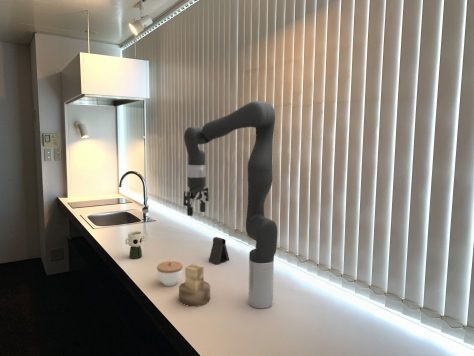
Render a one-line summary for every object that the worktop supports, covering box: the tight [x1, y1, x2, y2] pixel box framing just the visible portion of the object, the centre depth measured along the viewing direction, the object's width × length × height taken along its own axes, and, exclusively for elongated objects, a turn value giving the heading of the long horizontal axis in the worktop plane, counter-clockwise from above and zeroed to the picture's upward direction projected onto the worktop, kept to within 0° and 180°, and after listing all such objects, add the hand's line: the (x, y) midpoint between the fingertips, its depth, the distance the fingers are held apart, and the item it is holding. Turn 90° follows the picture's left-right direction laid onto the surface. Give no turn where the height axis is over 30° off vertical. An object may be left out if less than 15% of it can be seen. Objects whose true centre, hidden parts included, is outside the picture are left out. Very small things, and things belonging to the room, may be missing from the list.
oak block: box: [184, 263, 205, 291], centre depth 135 cm, size 5×5×8 cm
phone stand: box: [208, 236, 230, 266], centre depth 176 cm, size 9×6×12 cm, turn 138°
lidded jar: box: [156, 260, 184, 287], centre depth 150 cm, size 11×11×9 cm
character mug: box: [125, 230, 146, 259], centre depth 180 cm, size 11×7×13 cm, turn 136°
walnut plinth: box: [178, 280, 211, 307], centre depth 136 cm, size 12×12×5 cm
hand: (196, 213), depth 148 cm, fingers open, 8 cm apart
